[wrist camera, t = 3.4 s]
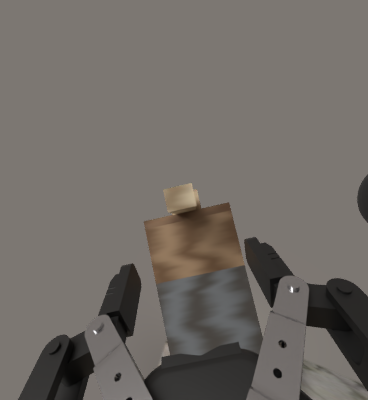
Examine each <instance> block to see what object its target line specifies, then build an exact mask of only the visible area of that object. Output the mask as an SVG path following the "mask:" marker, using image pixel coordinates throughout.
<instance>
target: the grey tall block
mask: <svg viewBox="0 0 368 400" xmlns="http://www.w3.org/2000/svg"><path fill="white" fill-rule="evenodd" d="M144 225H145V230H146V235H147V240H148V245H149V250H150V255H151V260H152V265H153V270H154V275H155V281H156V286H157V291H158V296H159V301H160V305H161V310H162V316H163V321H164V326H165V331H166V336H167V341H168V346H169V351H170V355H175V354H180V353H181V354H190V355H203V354H205V353H207V352H208V351H210V350H212V349H214V348H216V347H218V346H220V345H225V344H230V343H235V342H239V345H240V348H242V349H247V350H251V351H253V352H256V353H257V354H259V353H260V349H261V345H262V341H263V337H262V333H261V329H260V325H259V321H258V317H257V313H256V309H255V305H254V301H253V297H252V293H251V289H250V285H249V281H248V277H247V273H246V269H245V265H244V261H243V257H242V253H241V249H240V245H239V241H238V237H237V233H236V229H235V225H234V221H233V217H232V213H231V208H230V205H229V203H224V204H220V205H216V206H211V207H206V208H202V209H197V210H193V211H188V212H184V213H180V214H175V215H171V216H166V217H162V218H157V219H153V220H149V221H145V222H144Z"/></svg>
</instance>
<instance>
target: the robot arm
mask: <svg viewBox="0 0 368 400" xmlns="http://www.w3.org/2000/svg"><path fill="white" fill-rule="evenodd" d="M357 200H358V201H357V202H358V207H359V211H360V213H361V215H362V216H363V218H364V219H365V220H366V221H367V223H368V175H367V176H366V177H365V178H364V180H363V181H362V183H361V185H360V187H359V191H358V197H357ZM244 241H245V242H244V243H245V252H246V259H247V262H248V265H249V267H250V268H251V271H252V272H253V274H254V276H255V278H256V280H257V282H258V284H259V286H260V287H261V290H262V292H263V293H264V295H265V297H266V299H267V301H268V303H269V305H270V307H271V308H272V307H273V310H272V311H271V312H270V314H269V317H268V321H267V325H266V329H265V333H264V338H263V341H262V345H261V349H260V353H259V354H257V353H256V352H253V351H251V350H247V349H242V348H240V345H239V342H235V343H230V344H225V345H220V346H218V347H216V348H214V349H212V350H210V351H208V352H207V353H205V354H203V355H190V354H181V353H180V354H175V355H170V356H166V357H162V363H161V365H160V366H158V367H157V368H156V369H155V370H154V371H152V372H151V373H150V374H149V375H148V377H147V378H146V379H144V377H143V376H142V374H141V372H140V370H139V368H138V367H137V365H136V363H135V361H134V359H133V357H132V355H131V354H130V352H129V350H128V348H127V346H126V345H125V341H126V337H129V336H133V331H134V326H135V320H136V314H137V309H138V303H139V297H140V291H141V280H140V277H139V275H138V273H137V270H136V268H135V266H134V264H128V265H123V266H122V267H121V270H120V273H119V274H117V275H115V276H114V278H113V279H112V280H111V282H110V285H109V287H108V290H107V293H106V296H105V298H104V301H103V304H102V306H101V309H100V312H99V315H98V317H96V318H94V319H93V320H92V321H91V322H90V323H89V325H88V326H87V328H86V330H85V331H84V332H82V333H80V334H78V335H76V336H74V337H73V338H71V339H70V338H69V337H68V336H67V335H60V336H57V337H56V338H54V339H53V340H51V342H49V343H48V344H47V345H46V347H45V348H44V350H43V351H42V353H41V355H40V357H39V359H38V361H37V363H36V365H35V367H34V369H33V371H32V373H31V375H30V377H29V379H28V381H27V383H26V385H25V387H24V389H23V391H22V393H21V395H20V397H19V399H18V400H83V397H84V393H85V389H86V386H87V382H88V378H89V375H90V374H92V373H95V376H96V379H97V382H98V385H99V388H100V391H101V394H102V397H103V400H312V399H311V398H310V397H309V396H308V395H306V394H305V393H304V392H303V391H302V390H301V379H302V367H303V355H304V344H305V332H306V326H312V327H320V328H326V329H327V331H328V332H329V334H330V335H331V337H332V338H333V339H334V341H335V343H336V344H337V346H338V347H339V349H340V350H341V352H342V353H343V355H344V356H345V358H346V359H347V361H348V362H349V364H350V365H351V367H352V368H353V370H354V371H355V373H356V374H357V376H358V377H359V379H360V380H361V382H362V383H363V385H364V386H365V388H366V389H367V391H368V297H367V295H366V294H364V292H363V291H362V290H361V289H360V288H358V287H357V286H356V285H355V284H353V283H351V282H350V281H347V280H344V279H339V278H336V279H331V280H329V281H328V282H327V285H314V284H308V283H306V282H305V281H304V280H302V279H300V278H299V277H296V276H294V275H293V273H292V272H291V271H290V269H289V268H288V267H287V266H286V264H285V263H284V262H283V261H282V259H281V258H280V257H279V255H278V254H277V253H276V251H275V250H274V249H273V248H272V246H270V245H268V244H266V243H261V244H260V243H259V241H258V240H257V238H256V237H253V238H248V239H245V240H244Z"/></svg>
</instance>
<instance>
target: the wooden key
mask: <svg viewBox="0 0 368 400" xmlns="http://www.w3.org/2000/svg"><path fill="white" fill-rule="evenodd" d="M163 191H164V195H165V200H166V205H167V210H168V212H169V213H172V215H175V214H180V213H184V212H188V211H193V210H197V209H201V205H200V201H199V197H198V192H197V189H195V190H193V188H192V183H190V184H186V185H181V186H177V187H173V188H168V189H164V190H163Z"/></svg>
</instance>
